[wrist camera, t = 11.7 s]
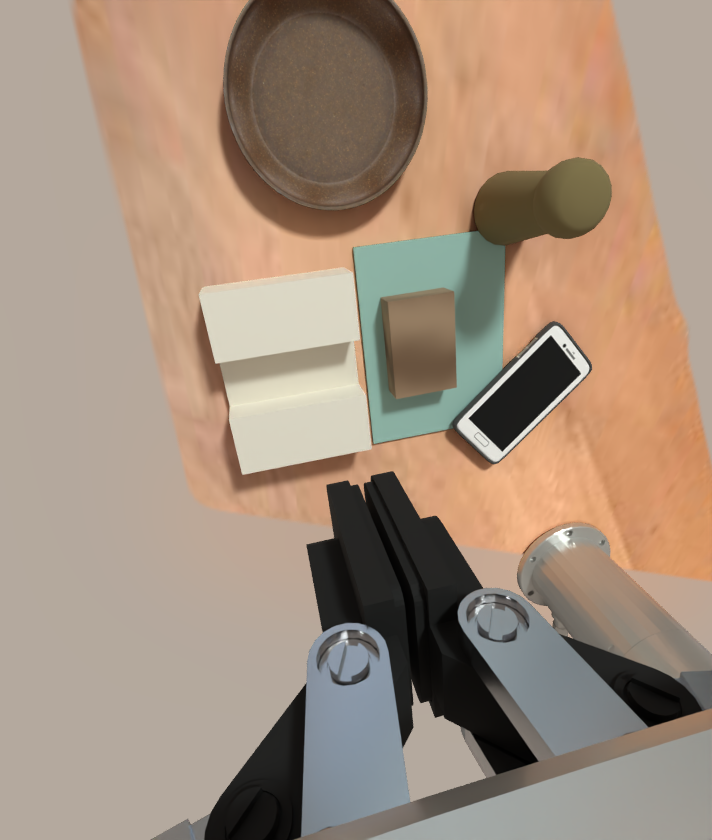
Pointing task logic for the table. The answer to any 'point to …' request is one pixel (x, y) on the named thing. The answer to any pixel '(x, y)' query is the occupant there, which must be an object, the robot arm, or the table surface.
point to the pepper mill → (543, 202)
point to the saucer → (326, 97)
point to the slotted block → (289, 366)
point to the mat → (474, 323)
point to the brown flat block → (420, 342)
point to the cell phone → (523, 393)
